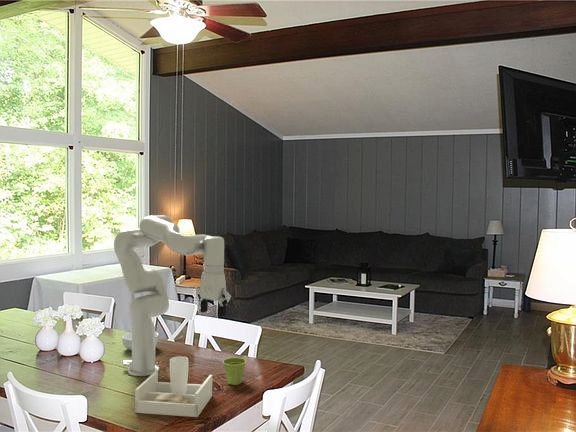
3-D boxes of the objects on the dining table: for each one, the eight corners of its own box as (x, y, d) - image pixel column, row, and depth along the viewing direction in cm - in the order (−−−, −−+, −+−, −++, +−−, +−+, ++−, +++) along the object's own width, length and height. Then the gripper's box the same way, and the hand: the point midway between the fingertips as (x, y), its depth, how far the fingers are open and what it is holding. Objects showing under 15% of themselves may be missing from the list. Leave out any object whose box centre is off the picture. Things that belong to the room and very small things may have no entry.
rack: (135, 412, 188) (135, 389, 187) (155, 392, 207) (155, 371, 206) (197, 417, 185) (197, 393, 185) (212, 395, 204) (212, 374, 204)
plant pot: (226, 388, 212) (226, 366, 212) (219, 380, 221) (219, 358, 220) (249, 385, 216) (249, 363, 215) (241, 377, 224) (242, 356, 224)
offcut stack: (151, 412, 189) (151, 398, 189) (156, 406, 194) (156, 393, 194) (184, 414, 188) (185, 400, 188) (189, 408, 193) (189, 395, 192)
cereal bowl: (131, 343, 269) (131, 329, 269) (164, 345, 267) (164, 331, 266) (115, 353, 252) (115, 338, 252) (150, 356, 250) (150, 340, 250)
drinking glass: (184, 404, 196) (184, 362, 195) (166, 402, 197) (166, 361, 196) (191, 397, 203) (191, 357, 202) (173, 395, 204) (174, 355, 203)
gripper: (190, 267, 210) (190, 311, 211) (223, 273, 200) (222, 319, 201) (204, 265, 216) (204, 308, 217) (237, 270, 205) (236, 316, 206)
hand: (213, 313), depth 209 cm, fingers open, 9 cm apart
